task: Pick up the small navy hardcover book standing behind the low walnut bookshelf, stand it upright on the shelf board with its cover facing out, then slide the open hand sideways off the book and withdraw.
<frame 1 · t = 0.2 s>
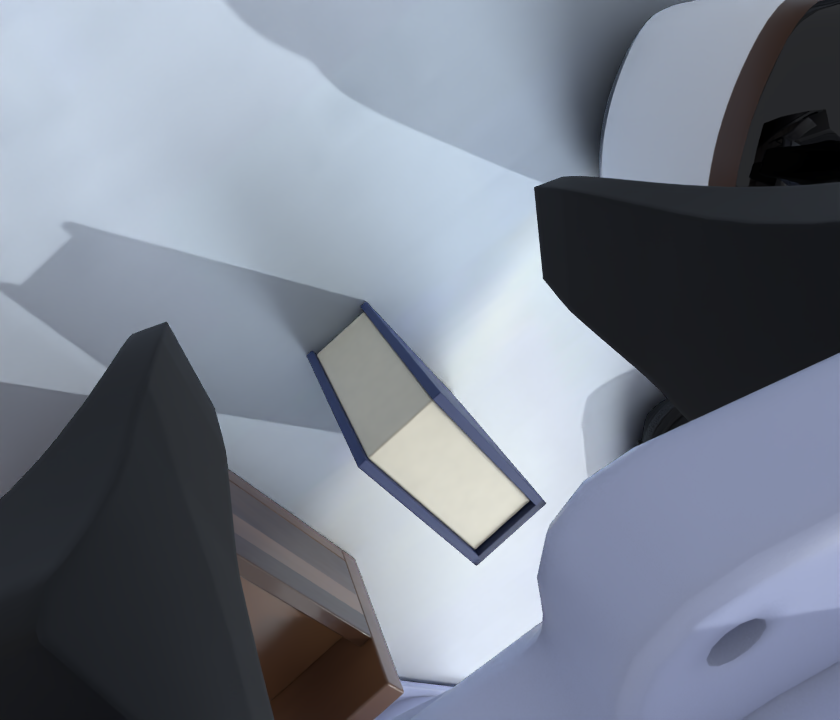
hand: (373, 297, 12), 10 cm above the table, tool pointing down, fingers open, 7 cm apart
shelf: (200, 545, 25), on the table
spread jar: (710, 77, 24), on the table
carrying case: (693, 478, 34), on the table
book: (385, 377, 24), on the table
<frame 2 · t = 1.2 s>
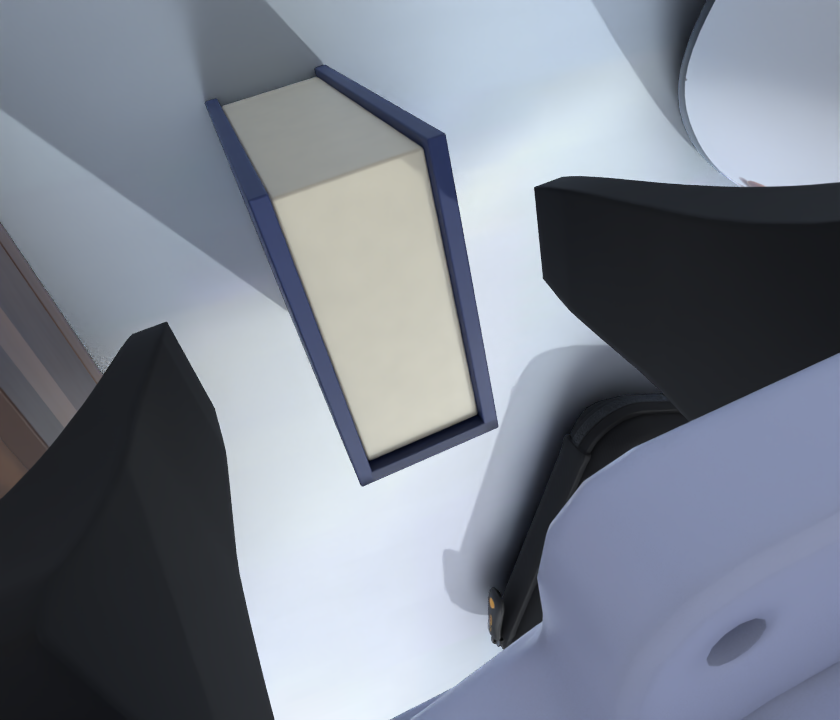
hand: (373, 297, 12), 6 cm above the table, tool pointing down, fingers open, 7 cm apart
spread jar: (824, 17, 19), on the table
carrying case: (591, 507, 29), on the table
book: (305, 200, 16), on the table
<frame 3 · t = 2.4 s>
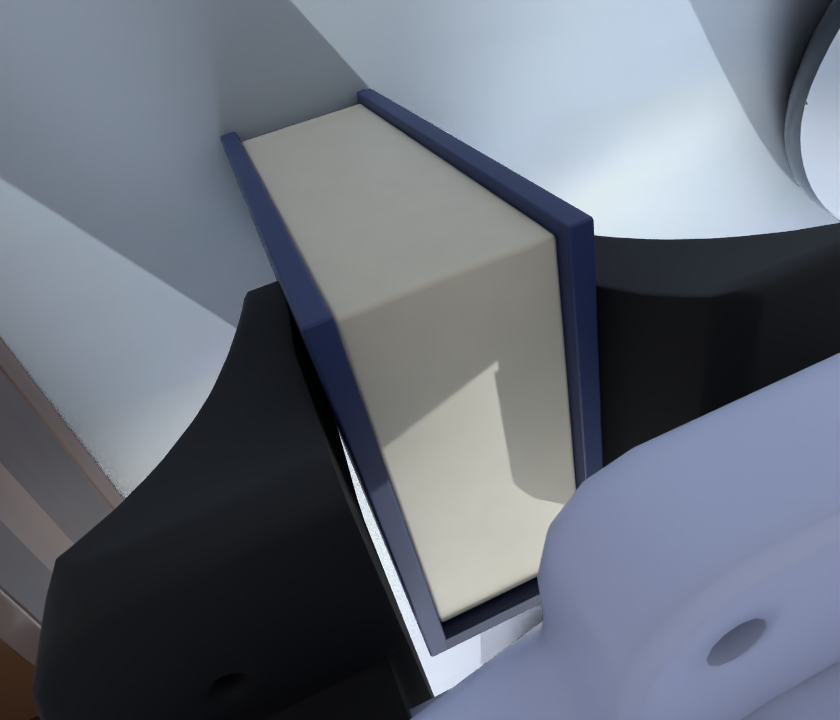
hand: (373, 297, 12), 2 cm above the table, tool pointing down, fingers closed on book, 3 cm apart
book: (341, 251, 13), on the table, touching gripper
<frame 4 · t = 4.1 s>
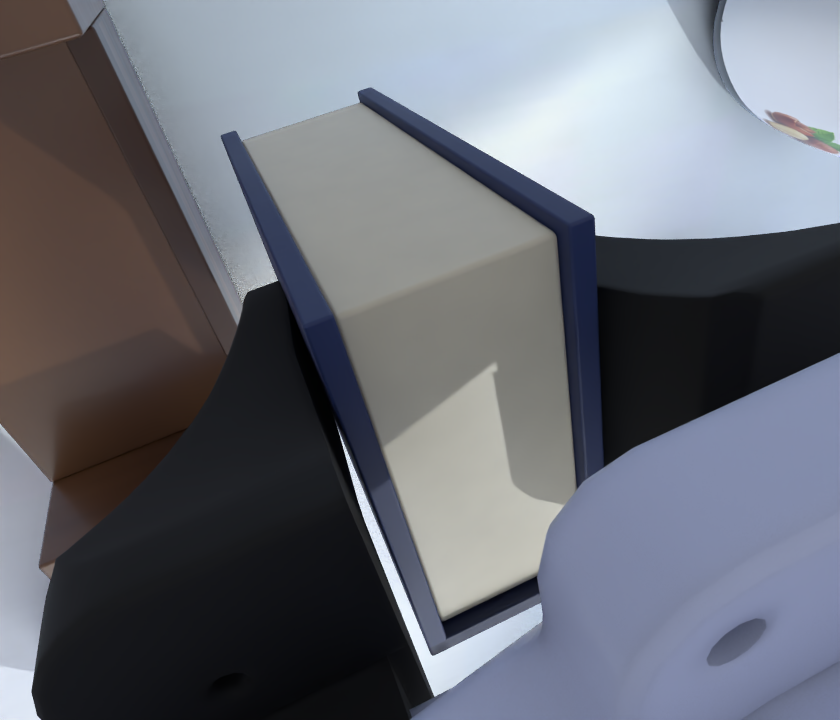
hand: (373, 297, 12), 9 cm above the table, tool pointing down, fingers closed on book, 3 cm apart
shelf: (82, 232, 18), on the table
book: (341, 251, 13), point 7 cm above the table, touching gripper
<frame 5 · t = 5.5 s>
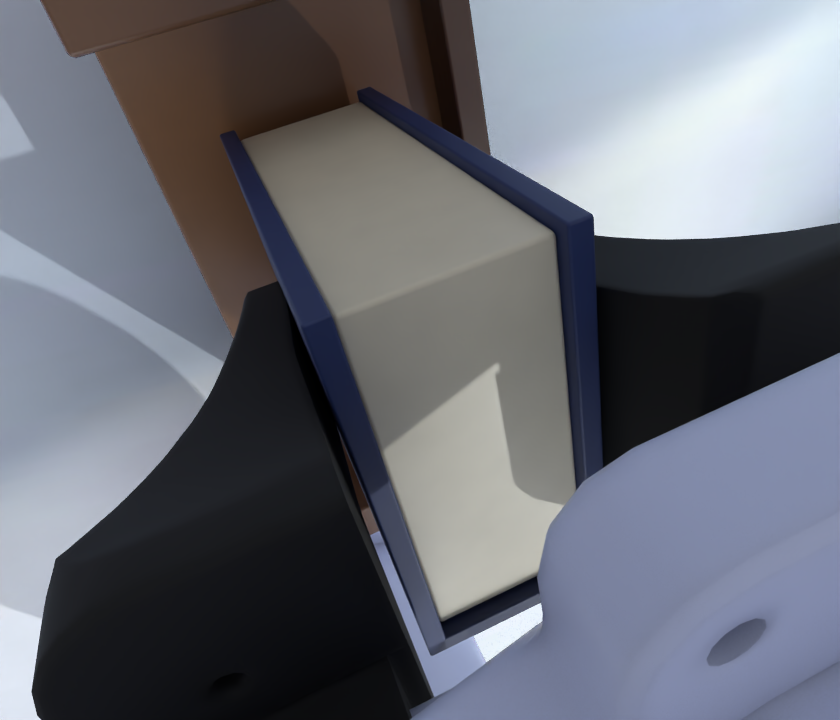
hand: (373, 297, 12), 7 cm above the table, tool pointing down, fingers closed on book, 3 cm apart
shelf: (311, 186, 17), on the table
book: (341, 250, 13), point 5 cm above the table, touching gripper
when the fingers open (6 cm above the table, at t = 6.0 s): book stays where it is, resting on shelf.
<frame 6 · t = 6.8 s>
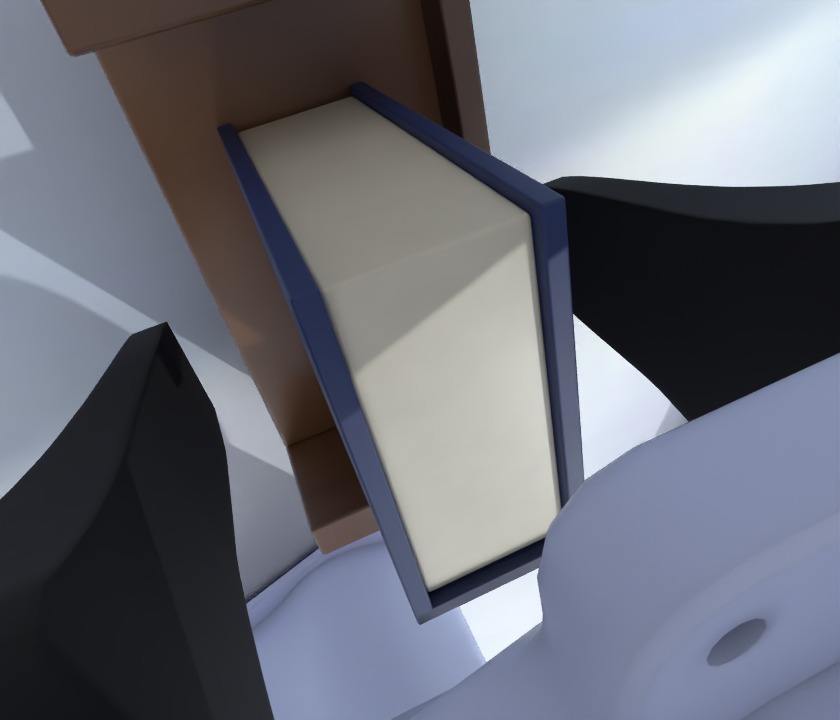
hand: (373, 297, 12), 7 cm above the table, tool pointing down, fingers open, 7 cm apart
shelf: (311, 185, 17), on the table
book: (335, 241, 14), point 4 cm above the table, touching shelf
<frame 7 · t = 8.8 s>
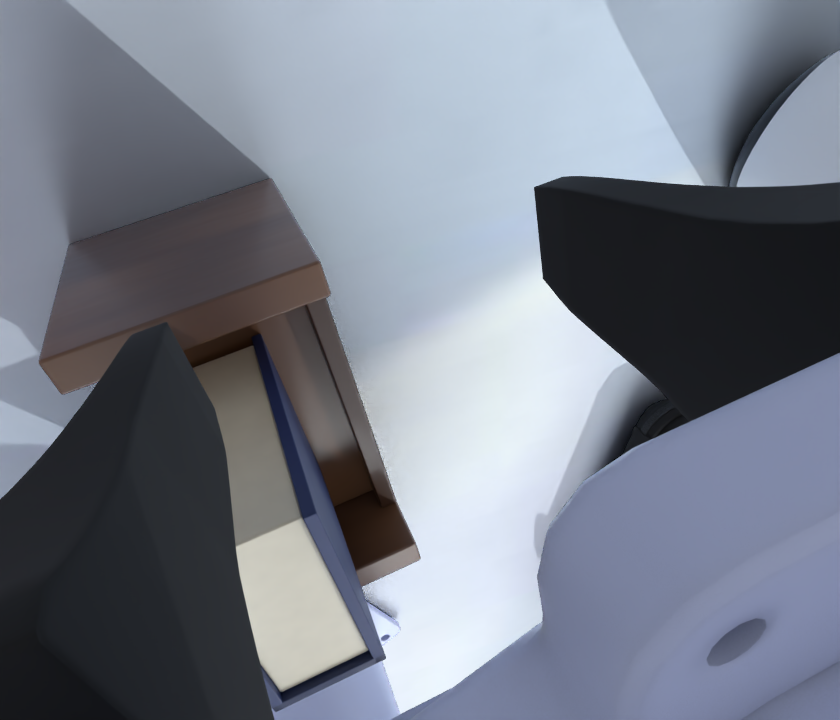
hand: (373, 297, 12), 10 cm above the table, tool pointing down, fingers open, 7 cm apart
shelf: (243, 358, 23), on the table
spread jar: (828, 133, 28), on the table
carrying case: (644, 483, 37), on the table
book: (248, 425, 20), point 4 cm above the table, touching shelf
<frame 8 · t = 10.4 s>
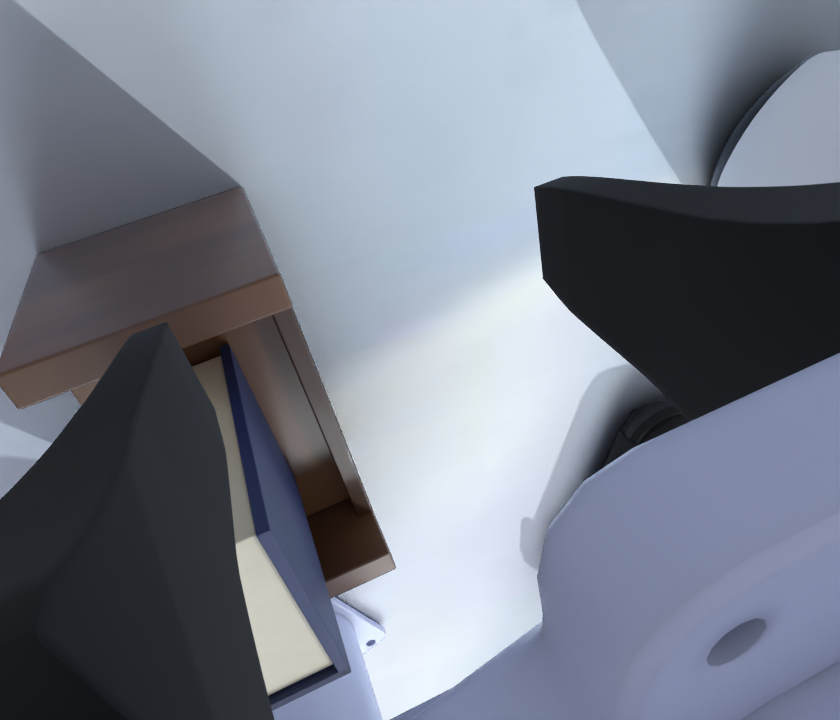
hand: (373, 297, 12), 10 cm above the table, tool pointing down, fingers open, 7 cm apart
shelf: (218, 366, 23), on the table
spread jar: (810, 135, 28), on the table
carrying case: (631, 487, 37), on the table
book: (220, 435, 20), point 4 cm above the table, touching shelf
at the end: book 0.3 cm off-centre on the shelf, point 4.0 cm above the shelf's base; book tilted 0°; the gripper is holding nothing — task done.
